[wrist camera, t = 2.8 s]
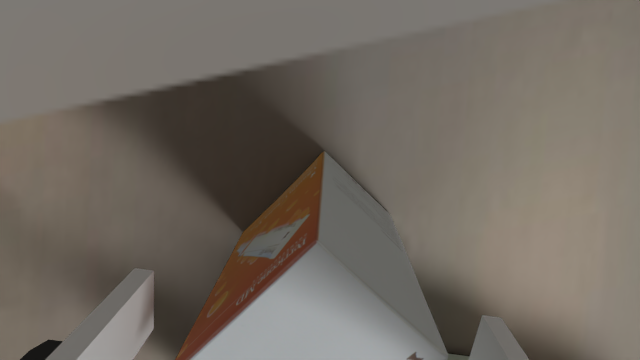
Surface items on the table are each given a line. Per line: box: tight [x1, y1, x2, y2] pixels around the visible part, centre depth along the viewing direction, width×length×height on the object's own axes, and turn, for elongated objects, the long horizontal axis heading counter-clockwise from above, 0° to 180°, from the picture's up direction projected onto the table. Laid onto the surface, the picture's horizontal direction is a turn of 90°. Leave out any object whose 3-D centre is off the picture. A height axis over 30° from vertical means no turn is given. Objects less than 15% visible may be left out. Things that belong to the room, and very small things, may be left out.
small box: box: [175, 151, 449, 360], centre depth 19 cm, size 8×6×13 cm
